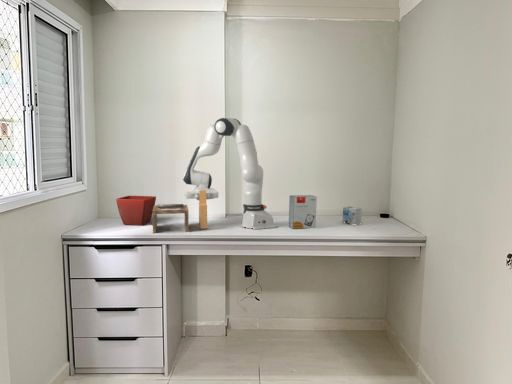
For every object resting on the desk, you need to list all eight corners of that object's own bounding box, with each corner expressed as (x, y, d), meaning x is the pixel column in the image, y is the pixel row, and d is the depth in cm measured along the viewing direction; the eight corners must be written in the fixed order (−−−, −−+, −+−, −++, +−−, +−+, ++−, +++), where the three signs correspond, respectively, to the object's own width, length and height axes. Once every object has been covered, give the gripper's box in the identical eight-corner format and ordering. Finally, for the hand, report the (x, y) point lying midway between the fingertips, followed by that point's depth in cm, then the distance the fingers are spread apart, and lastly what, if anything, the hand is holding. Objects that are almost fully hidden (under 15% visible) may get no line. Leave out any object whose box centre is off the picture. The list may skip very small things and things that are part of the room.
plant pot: (157, 221, 248) (156, 195, 246) (145, 226, 229) (145, 199, 227) (129, 220, 250) (128, 195, 248) (116, 225, 231) (115, 199, 229)
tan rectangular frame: (187, 225, 236) (186, 201, 234) (188, 231, 216) (188, 206, 215) (154, 226, 231) (153, 202, 230) (152, 233, 212) (152, 207, 210)
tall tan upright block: (205, 224, 234) (205, 189, 232) (207, 228, 223) (206, 191, 220) (199, 224, 233) (198, 189, 231) (200, 228, 222) (200, 191, 219)
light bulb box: (342, 222, 249) (342, 206, 248) (348, 221, 253) (349, 206, 252) (355, 225, 241) (355, 209, 240) (361, 224, 245) (362, 208, 244)
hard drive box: (292, 229, 227) (293, 196, 225) (288, 226, 235) (288, 195, 232) (316, 228, 231) (317, 196, 229) (311, 225, 239) (311, 194, 236)
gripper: (184, 189, 236) (185, 191, 222) (216, 188, 240) (219, 190, 227) (184, 199, 236) (185, 202, 223) (216, 198, 241) (219, 201, 228)
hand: (202, 196), depth 225 cm, fingers closed on tall tan upright block, 4 cm apart
